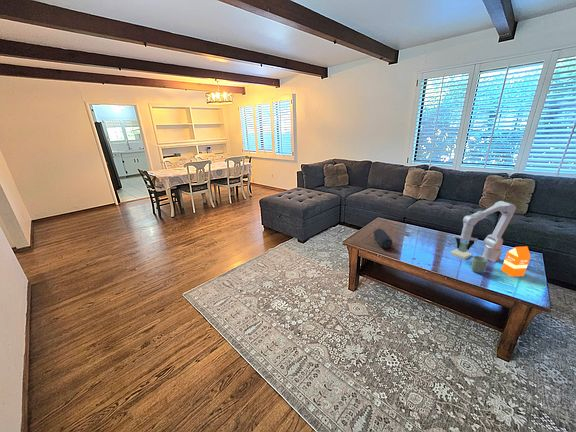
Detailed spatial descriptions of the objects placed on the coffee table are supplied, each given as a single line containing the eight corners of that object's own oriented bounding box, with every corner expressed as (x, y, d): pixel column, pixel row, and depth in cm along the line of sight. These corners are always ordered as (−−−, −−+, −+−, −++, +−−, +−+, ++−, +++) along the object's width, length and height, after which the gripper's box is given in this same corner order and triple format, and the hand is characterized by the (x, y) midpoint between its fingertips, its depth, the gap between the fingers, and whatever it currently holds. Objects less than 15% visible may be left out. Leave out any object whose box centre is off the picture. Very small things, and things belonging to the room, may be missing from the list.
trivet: (470, 256, 184) (471, 253, 183) (463, 259, 179) (464, 256, 178) (457, 251, 192) (457, 248, 191) (450, 254, 188) (450, 251, 187)
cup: (470, 267, 169) (473, 254, 166) (484, 270, 164) (487, 258, 161) (469, 271, 164) (472, 259, 160) (483, 275, 159) (487, 262, 155)
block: (466, 251, 177) (468, 244, 175) (463, 252, 175) (465, 245, 173) (461, 249, 180) (462, 242, 178) (457, 250, 178) (459, 243, 176)
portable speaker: (393, 249, 196) (394, 239, 193) (381, 250, 196) (382, 239, 193) (382, 237, 220) (384, 227, 216) (371, 237, 220) (372, 227, 217)
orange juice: (500, 270, 165) (509, 244, 158) (512, 269, 165) (521, 243, 158) (511, 276, 157) (520, 249, 151) (524, 275, 158) (533, 249, 151)
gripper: (478, 231, 172) (473, 248, 177) (454, 228, 179) (450, 244, 183) (480, 235, 167) (475, 252, 171) (455, 231, 173) (451, 248, 178)
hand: (462, 248), depth 177 cm, fingers closed on block, 6 cm apart
